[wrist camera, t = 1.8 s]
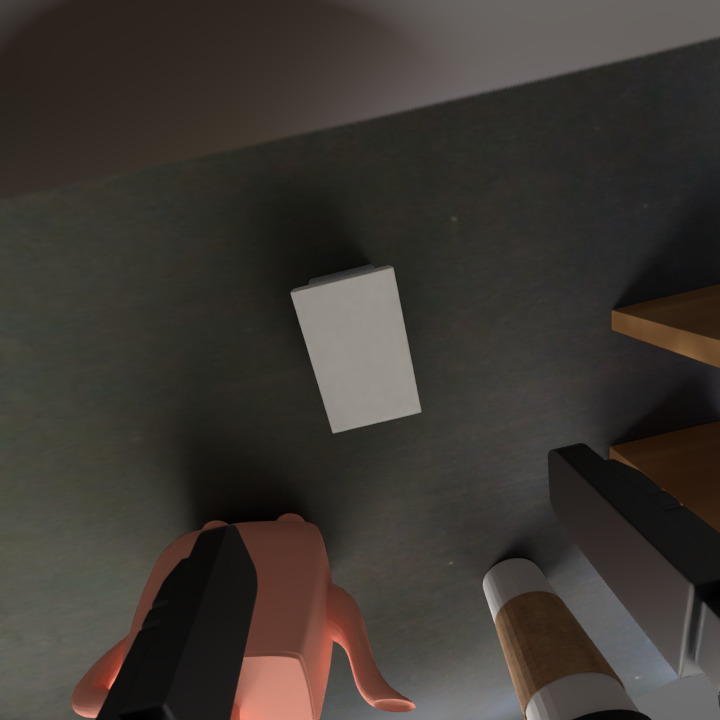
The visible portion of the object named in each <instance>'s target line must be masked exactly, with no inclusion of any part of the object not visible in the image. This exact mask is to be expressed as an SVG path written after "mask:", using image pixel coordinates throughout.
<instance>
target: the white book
mask: <svg viewBox="0 0 720 720" xmlns="http://www.w3.org/2000/svg"><path fill="white" fill-rule="evenodd" d="M291 296H292V300H293V303H294V306H295V310H296V313H297V316H298V320H299V323H300V326H301V330H302V333H303V336H304V339H305V343H306V346H307V349H308V353H309V356H310V359H311V363H312V366H313V369H314V373H315V376H316V379H317V383H318V386H319V389H320V393H321V396H322V399H323V402H324V406H325V409H326V412H327V416H328V419H329V422H330V426H331V429H332V432H333V433H337V432H341V431H345V430H349V429H354V428H358V427H362V426H366V425H370V424H374V423H379V422H383V421H387V420H391V419H395V418H400V417H404V416H408V415H412V414H416V413H421V407H420V402H419V397H418V392H417V386H416V381H415V376H414V371H413V366H412V361H411V356H410V350H409V345H408V340H407V335H406V330H405V325H404V320H403V314H402V309H401V304H400V299H399V294H398V289H397V284H396V278H395V273H394V268H393V267H392V266H390V265H388V266H384V267H380V268H376V269H372V270H367V271H363V272H359V273H355V274H351V275H347V276H343V277H339V278H335V279H331V280H327V281H323V282H319V283H315V284H311V285H307V286H303V287H299V288H295V289H293V290H292V291H291Z"/></svg>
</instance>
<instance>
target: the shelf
mask: <svg viewBox="0 0 720 720" xmlns="http://www.w3.org/2000/svg"><path fill="white" fill-rule="evenodd" d="M611 329H612V330H614V331H617V332H619V333H622V334H625V335H628V336H631V337H634V338H636V339H639V340H642V341H645V342H648V343H651V344H653V345H656V346H659V347H662V348H665V349H668V350H670V351H673V352H676V353H679V354H682V355H685V356H687V357H690V358H693V359H696V360H699V361H702V362H704V363H707V364H710V365H713V366H716V367H719V368H720V284H718V285H713V286H709V287H705V288H701V289H697V290H693V291H689V292H684V293H680V294H676V295H672V296H668V297H664V298H660V299H655V300H651V301H647V302H643V303H639V304H635V305H631V306H626V307H622V308H618V309H614V310H612V327H611ZM611 459H615V460H617V461H619V462H622V463H624V464H626V465H628V466H631V467H633V468H635V469H637V470H640V471H641V472H642V473H643V474H645V475H646V476H647V477H649V478H650V479H651V480H652V481H654V482H655V483H656V484H658V485H659V486H660V487H661V489H662V490H663V491H667V492H668V493H669V494H671V495H672V496H673V497H674V498H676V499H677V500H678V501H680V504H681V505H682V506H686V507H687V508H689V509H690V510H691V511H692V512H694V513H695V514H696V515H698V516H699V517H700V518H701V519H703V520H704V521H705V522H707V523H708V524H709V525H710V526H712V527H713V528H714V529H716V530H717V531H718V532H719V533H720V421H716V422H712V423H708V424H703V425H699V426H695V427H691V428H686V429H682V430H678V431H674V432H669V433H665V434H661V435H657V436H652V437H648V438H644V439H640V440H635V441H631V442H627V443H622V444H618V445H614V446H610V448H609V460H611Z"/></svg>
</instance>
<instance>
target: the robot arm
mask: <svg viewBox="0 0 720 720" xmlns="http://www.w3.org/2000/svg"><path fill="white" fill-rule="evenodd" d="M548 469H549V488H550V501H551V505H552V508H553V511H554V513H555V515H556V517H557V519H558V521H559V523H560V524H561V525H562V527H563V528H564V529H565V531H566V532H567V533H568V535H569V536H570V537H571V538H572V540H573V541H574V542H575V544H576V545H577V546H578V547H579V549H580V550H581V551H582V553H583V554H584V555H585V556H586V558H587V559H588V560H589V562H590V563H591V564H592V565H593V567H594V568H595V569H596V571H597V572H598V573H599V574H600V576H601V577H602V578H603V580H604V581H605V582H606V583H607V585H608V586H609V587H610V589H611V590H612V591H613V592H614V594H615V595H616V596H617V598H618V599H619V600H620V601H621V603H622V604H623V605H624V607H625V608H626V609H627V610H628V612H629V613H630V614H631V616H632V617H633V618H634V619H635V621H636V622H637V623H638V625H639V626H640V627H641V628H642V630H643V631H644V632H645V634H646V635H647V636H648V637H649V639H650V640H651V641H652V643H653V644H654V645H655V646H656V648H657V649H658V650H659V652H660V653H661V654H662V656H663V657H664V658H665V659H666V661H667V662H668V663H669V665H670V666H671V667H672V668H673V670H674V671H675V672H676V674H677V675H678V676H679V677H680V679H682V678H686V677H691V676H695V675H699V674H705V675H706V676H707V677H708V679H709V680H710V681H711V682H712V683H713V685H714V686H715V687H716V688H717V689H718V690H719V696H718V697H719V706H720V533H719V532H718V531H717V530H716V529H714V528H713V527H712V526H710V525H709V524H708V523H707V522H705V521H704V520H703V519H701V518H700V517H699V516H698V515H696V514H695V513H694V512H692V511H691V510H690V509H689V508H687V507H686V506H682V505H681V504H680V501H678V500H677V499H676V498H674V497H673V496H672V495H671V494H669V493H668V492H667V491H663V490H662V489H661V487H660V486H659V485H658V484H656V483H655V482H654V481H652V480H651V479H650V478H649V477H647V476H646V475H645V474H643V473H642V472H641V471H640V470H637V469H635V468H633V467H631V466H628V465H626V464H624V463H622V462H619V461H617V460H615V459H611V460H606V461H605V460H604V459H603V458H602V457H600V456H599V455H598V454H597V453H596V452H594V451H593V450H592V449H591V448H590V447H588V446H587V445H585V444H583V443H579V444H574V445H570V446H566V447H562V448H558V449H553V450H550V451H549V453H548ZM257 590H258V580H257V572H256V568H255V565H254V563H253V561H252V559H251V557H250V554H249V552H248V550H247V548H246V546H245V544H244V541H243V539H242V537H241V535H240V533H239V530H238V529H237V527H236V526H235V525H233V524H231V525H227V526H223V527H218V528H214V529H210V530H206V531H202V532H201V533H200V534H199V536H198V537H197V540H196V542H195V544H194V546H193V549H192V551H191V553H190V555H189V557H188V558H184V559H181V560H180V562H179V563H178V564H177V565H176V566H175V568H174V569H173V570H172V571H171V572H170V574H169V575H168V576H167V577H166V578H165V580H164V581H163V583H162V585H161V587H160V589H159V591H158V593H157V595H156V597H155V599H154V601H153V603H152V609H150V610H149V611H148V613H147V615H146V617H145V619H144V621H143V624H142V629H141V630H140V631H139V632H138V634H137V636H136V638H135V640H134V642H133V644H132V646H131V648H130V650H129V652H128V654H127V656H126V658H125V660H124V662H123V664H122V666H121V668H120V670H119V672H118V674H117V676H116V679H115V681H114V683H113V685H112V687H111V689H110V691H109V693H108V695H107V697H106V699H105V701H104V703H103V705H102V707H101V709H100V711H99V713H98V715H97V717H96V719H95V720H230V719H231V714H232V709H233V704H234V700H235V695H236V690H237V686H238V681H239V676H240V672H241V667H242V662H243V658H244V653H245V648H246V644H247V639H248V634H249V630H250V625H251V620H252V615H253V611H254V606H255V601H256V597H257Z"/></svg>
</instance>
